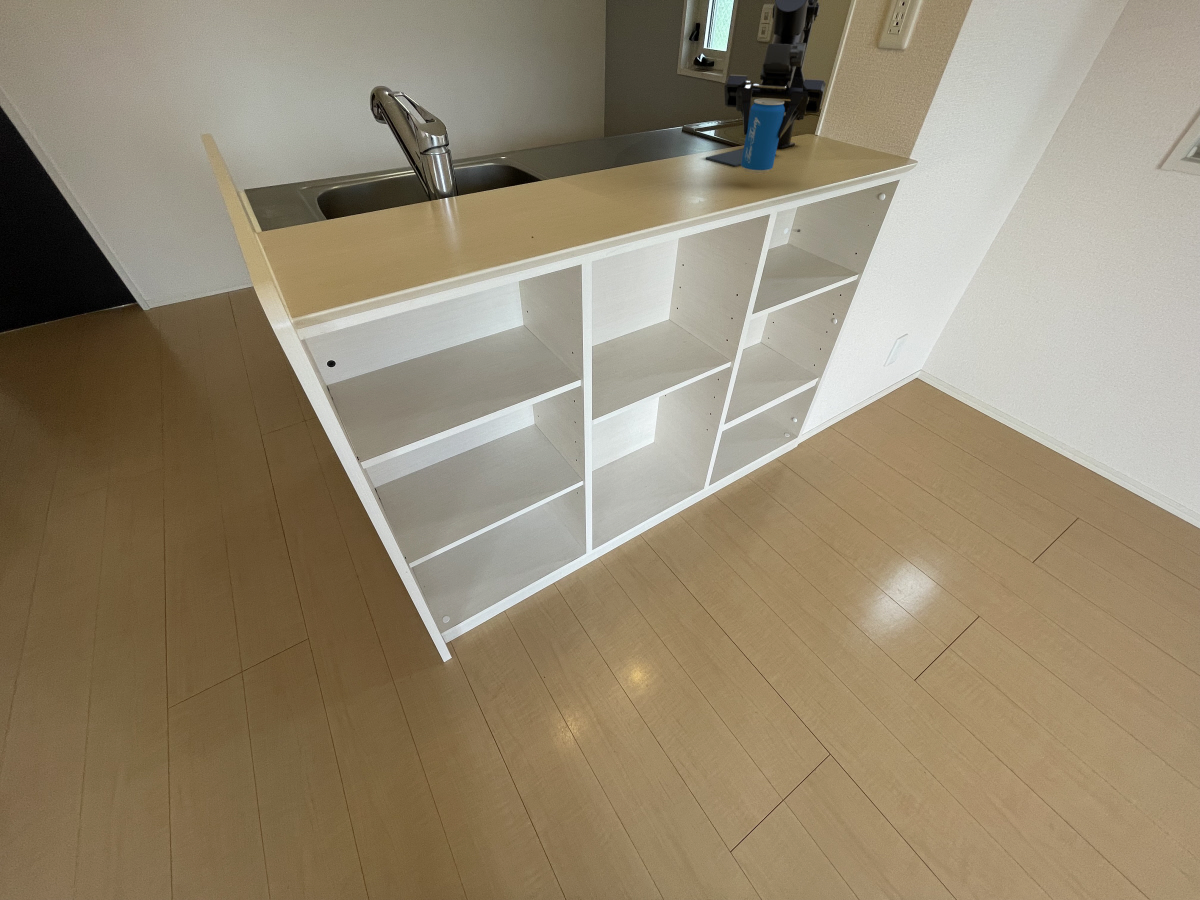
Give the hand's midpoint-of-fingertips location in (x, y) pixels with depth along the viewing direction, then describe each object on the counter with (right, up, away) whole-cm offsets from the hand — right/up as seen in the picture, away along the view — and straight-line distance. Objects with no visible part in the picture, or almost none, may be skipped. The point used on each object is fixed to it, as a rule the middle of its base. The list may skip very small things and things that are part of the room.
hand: (761, 135), depth 100 cm
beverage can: (+1, -4, +6) cm, 7 cm away
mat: (+3, +10, +25) cm, 27 cm away
